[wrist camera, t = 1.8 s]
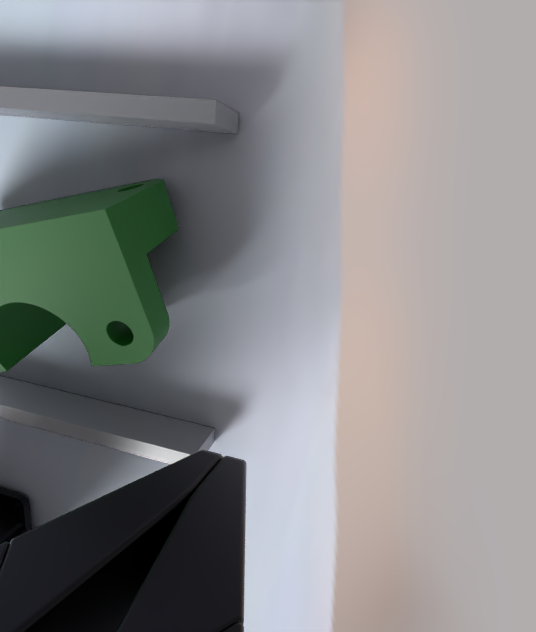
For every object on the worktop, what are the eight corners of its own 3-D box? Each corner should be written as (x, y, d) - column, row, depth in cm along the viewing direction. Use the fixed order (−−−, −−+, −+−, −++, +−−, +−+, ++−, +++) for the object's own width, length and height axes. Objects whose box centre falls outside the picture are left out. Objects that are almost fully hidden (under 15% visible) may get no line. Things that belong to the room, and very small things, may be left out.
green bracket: (95, 287, 27) (-62, 367, 21) (54, 192, 24) (-140, 252, 18) (238, 305, 20) (61, 437, 14) (202, 173, 17) (-38, 262, 11)
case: (-8, 386, 25) (-49, 405, 23) (-35, 94, 21) (-89, 80, 18) (213, 442, 22) (193, 470, 20) (239, 112, 18) (216, 99, 15)
